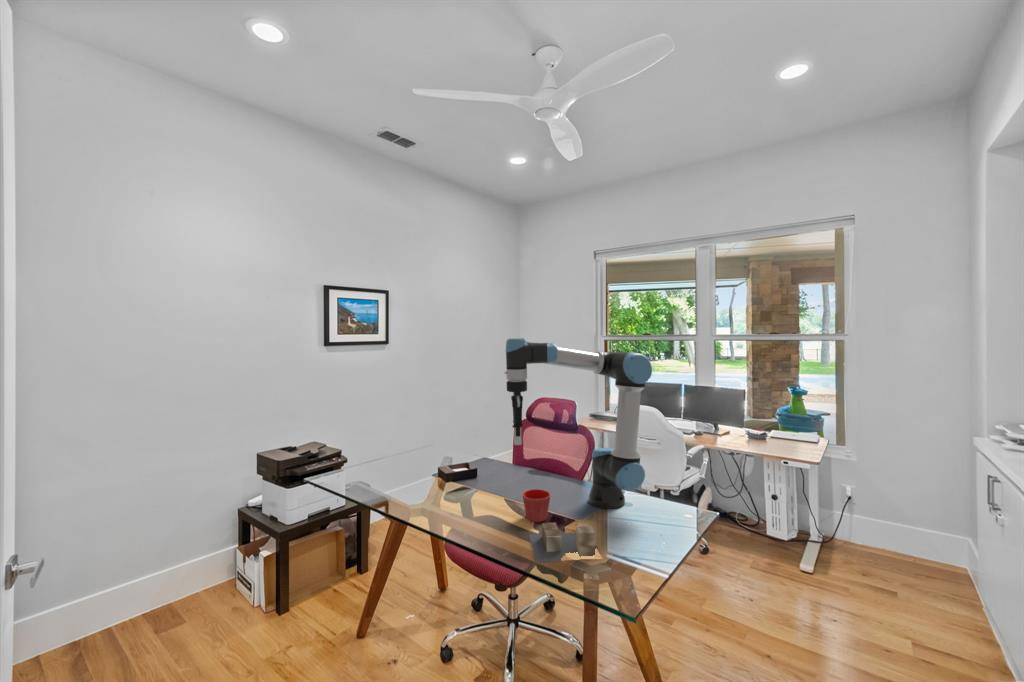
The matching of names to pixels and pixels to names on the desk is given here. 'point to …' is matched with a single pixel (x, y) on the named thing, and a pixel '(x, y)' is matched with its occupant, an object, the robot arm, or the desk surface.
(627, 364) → the robot arm
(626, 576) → the desk surface
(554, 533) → the grey brown block
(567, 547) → the mat
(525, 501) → the flower pot
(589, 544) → the grey beige upright block
